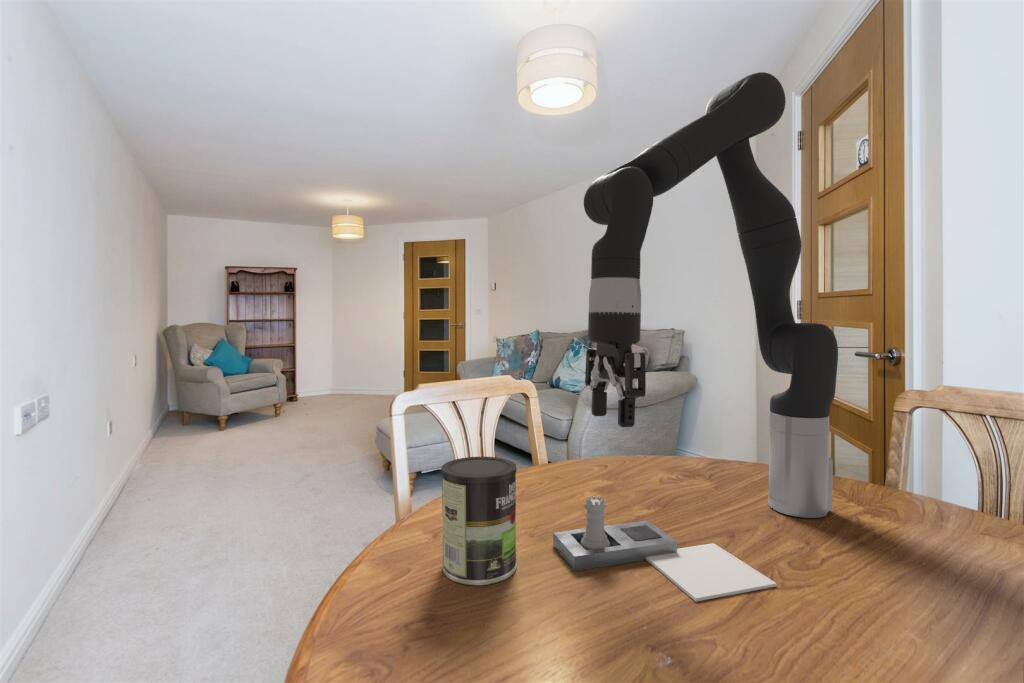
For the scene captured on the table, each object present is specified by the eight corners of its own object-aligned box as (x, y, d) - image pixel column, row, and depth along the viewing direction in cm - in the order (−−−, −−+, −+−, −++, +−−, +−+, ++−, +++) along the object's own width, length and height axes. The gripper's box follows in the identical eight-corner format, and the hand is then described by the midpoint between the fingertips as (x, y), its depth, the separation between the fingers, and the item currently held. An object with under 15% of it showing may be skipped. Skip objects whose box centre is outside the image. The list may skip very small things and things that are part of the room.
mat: (713, 545, 75) (713, 543, 75) (776, 586, 63) (776, 583, 63) (642, 556, 71) (642, 553, 71) (695, 601, 60) (695, 598, 60)
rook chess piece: (610, 561, 70) (610, 505, 70) (578, 559, 71) (578, 503, 71) (610, 547, 74) (610, 494, 74) (580, 545, 75) (580, 492, 75)
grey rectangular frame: (647, 532, 80) (647, 519, 80) (676, 555, 72) (677, 540, 72) (553, 545, 75) (553, 531, 75) (574, 571, 67) (574, 555, 67)
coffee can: (526, 555, 72) (526, 459, 71) (500, 592, 62) (499, 481, 62) (462, 545, 76) (461, 453, 75) (428, 578, 66) (426, 472, 65)
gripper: (664, 310, 67) (661, 429, 68) (614, 312, 81) (612, 411, 81) (614, 308, 65) (611, 432, 66) (571, 311, 79) (569, 413, 79)
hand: (611, 420), depth 73 cm, fingers open, 8 cm apart
